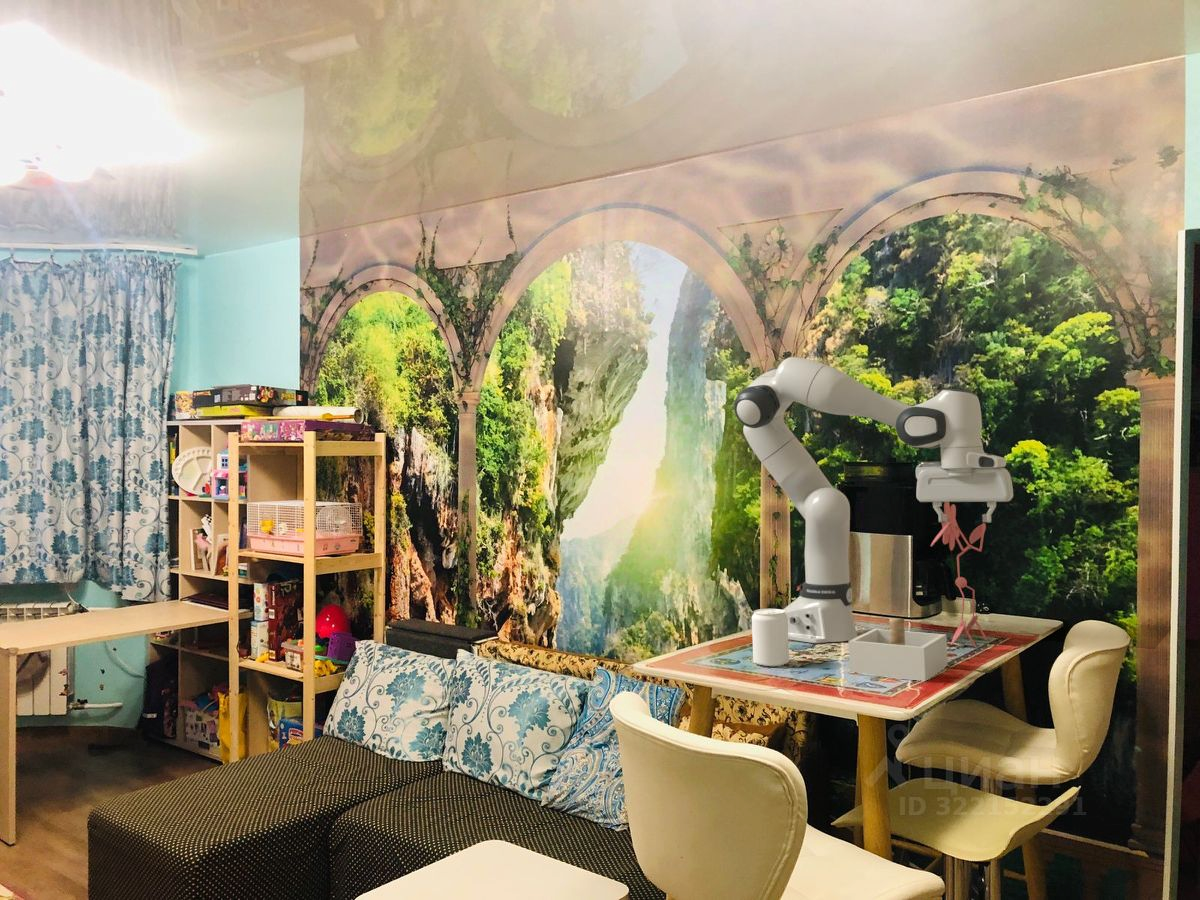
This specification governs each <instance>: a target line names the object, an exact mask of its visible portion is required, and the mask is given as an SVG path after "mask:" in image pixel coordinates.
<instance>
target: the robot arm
mask: <svg viewBox="0 0 1200 900" xmlns="http://www.w3.org/2000/svg"><path fill="white" fill-rule="evenodd" d="M795 403H799V404H801V405H804V406H806V407H808V408H810V409H813V410H816V411H819V412H822V413H826V414H831V415H837V416H852V417H853V416H854V417H855V416H856V417H863V418H867V419H872V420H874V421H877V422H880V423H882V424H885V425H887V426H890V427H892V428H895V431H896V434H897V437H898V439H900V441H901V442H902V443H904V444H905V445H907V446H909V447H913V448H925V449H929V450H930V449H931V450H932V449H933V450H934V449H937V448H940V460H939V461H937V460H936V461H922V462H921V463H920V464H918V465H917V466H916V468H915V478H916V480H917V481H916V490H915V491H916V499H917V500H918V501H919V502H920V503H932V508H933V509H934V511H935V512H936V514H937V515H938V523H941V522H947V514H945V513H944V511H943V510H942V509H941V508H940V507H942V506H943V505H942V504H943V503H944V502H949V503H962V502H963V503H971V502H972V503H973V502H974V503H975V502H976V503H977V502H979V503H982V502H983V503H984V502H986V505H987V508H989V509H988V510H987V512H986V513H984V514H982V520H981V521H982V524H983V523H985V524H986V523H992V514H993V512H994V511H995V509H996V507H997V502H999V503H1003V502H1004V503H1005V502H1010V501H1012V499H1013V497H1014V489H1013V482H1012V476H1011V474H1010V471H1008V469H1006V468H1005V467H1006V466H1007V459H1006V458H1005V457H1003V456H999V455H994V454H993V453H987V452H984V446H983V445H984V444H983V442H982V439H981V433H982V428H983V422H982V410H981V403H980V400H979V397H978V395H977V394H976V393H974V392H972V391H970V390H967V389H966V390H965V389H959V388H944V389H942V390H941V391H940V392H939V393H937V394H936V395H935V396H933V397H931V398H929V399H928V400H926V401H923V402H921V403H918V404H915V405H911V404H908V403H904V402H902V401H900V400H897V399H894V398H891V397H888V396H886V395H884V394H881V393H878V392H876V391H874V390H873V389H871V388H869V387H868V386H866V385H864V384H863V383H861V382H860V381H858V380H856V379H855V378H854V377H852V376H850V375H848V374H847V373H845V372H843V371H841V370H839V369H837V368H835V367H834V366H830V365H827V364H825V363H822V362H820V361H815V360H811V359H808V358H804V357H803V358H802V357H799V356H798V357H797V356H790V357H786V359H784V360H782V361H781V363H779V365H778V366H776V367H773V368H771V369H769V370H767V371H766V372H764V373H762V374H761V375H759V376H757V377H756V378H754V379H753V381H752V382H751V383H749V385H748V386H747V387H745V388H743V389H742V390H741V391H740V392H739V393H738V395H737V396H736V398H735V400H734V402H733V412H734V414H735V417H736V418H737V420H738V421H739V422H740V423H741V424H742V425H743V429H742V430H743V431H742V433H743V435H744V437H745V439H746V441H747V443H748V445H749V447H750V449H752V451H753V453H754V455H755V456H756V457H757V458H758V460H759V461H760V462H761V463H762V465H763V466H764V468H766V470H767V471H768V472H769V474H770V476H772V477H773V479H774V480H775V481H776V482H777V484H778V486H779V487H780V488H781V489H782V491H783V492H784V494H785V495H786V496H787V498H788V499H789V500H790V502H791V503H792V504H793V506H794V507H795V508H796V509H797V511H798V512H799V513H800V515H801V516H802V518H803V519H804V520H805V535H804V536H805V537H804V538H805V539H804V541H805V542H804V543H805V544H804V570H805V571H804V572H805V573H804V574H805V581H804V582H803V583H801V584H799V585H797V586H796V588H797V589H796V591H799V596H798V597H797V598H795V599H794V600H793V601H792V602H791V603H790V604H788V605H786V606H785V607H784V608H783V609H782V610H784V611H785V614H786V615H787V618H788V640H791V641H798V642H806V643H812V644H823V643H835V642H837V643H838V642H847V641H848V642H849V641H850V640H852V639H854V638H856V637H858V636H859V634H858V632H857V628H856V625H855V622H854V616H853V615H854V614H853V610H852V609H853V608H852V604H853V590H852V582H851V581H850V565H849V564H850V563H849V562H850V561H849V543H850V532H851V531H850V530H851V529H850V527H851V526H850V525H851V523H850V521H851V506H850V501H849V499H848V498H847V496H846V495H845V494H844V493H843V492H841V491H840V490H839V489H837V488H835V487H834V486H833V485H832V484H831V483H830V481H829V480H828V479H827V477H826V475H824V473H823V472H822V470H821V468H820V467H819V465H817V463H816V461H815V459H814V458H813V457H812V455H811V454H810V453H809V452H808V451H807V449H806V448H805V446H803V444H802V443H801V442H800V441H799V439H798V438H797V437H796V436H795V434H794V433H793V432H792V431H791V430H790V429H789V427H788V426H787V424H786V422H785V413H788V412H789V413H790V411H791V410H792V409H793V406H794V405H795ZM943 513H944V514H943Z"/></svg>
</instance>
